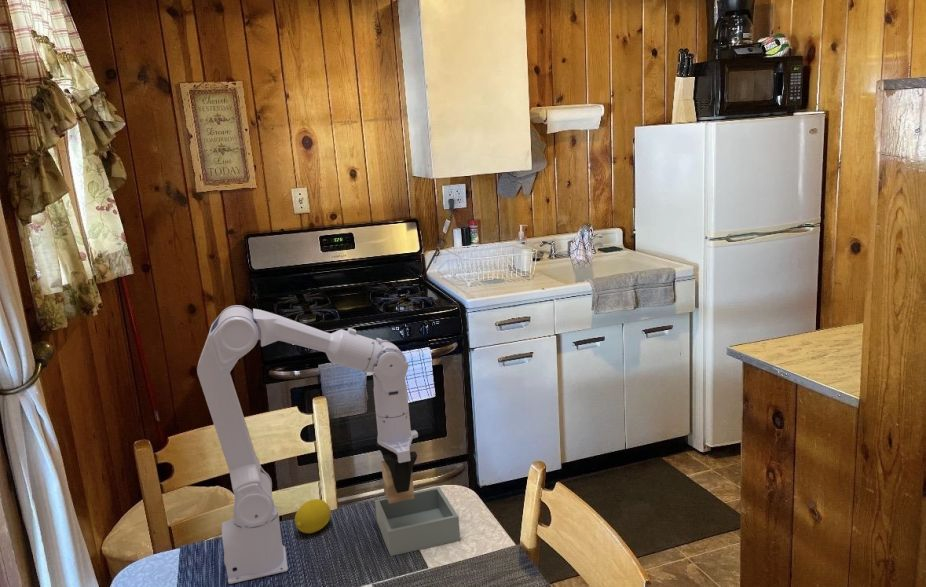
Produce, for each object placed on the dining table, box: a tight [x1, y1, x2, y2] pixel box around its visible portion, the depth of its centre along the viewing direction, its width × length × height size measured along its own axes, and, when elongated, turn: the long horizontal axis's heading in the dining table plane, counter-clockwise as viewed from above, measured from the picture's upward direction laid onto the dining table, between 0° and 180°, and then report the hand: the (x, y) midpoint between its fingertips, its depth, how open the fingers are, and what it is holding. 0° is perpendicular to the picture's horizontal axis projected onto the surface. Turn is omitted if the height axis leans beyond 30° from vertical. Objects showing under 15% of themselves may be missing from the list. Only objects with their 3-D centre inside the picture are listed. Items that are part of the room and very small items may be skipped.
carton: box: [380, 460, 415, 504], centre depth 125 cm, size 4×4×6 cm
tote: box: [374, 486, 461, 557], centre depth 127 cm, size 12×12×4 cm
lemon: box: [294, 498, 332, 534], centre depth 130 cm, size 6×6×8 cm
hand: (399, 485), depth 125 cm, fingers closed on carton, 4 cm apart
